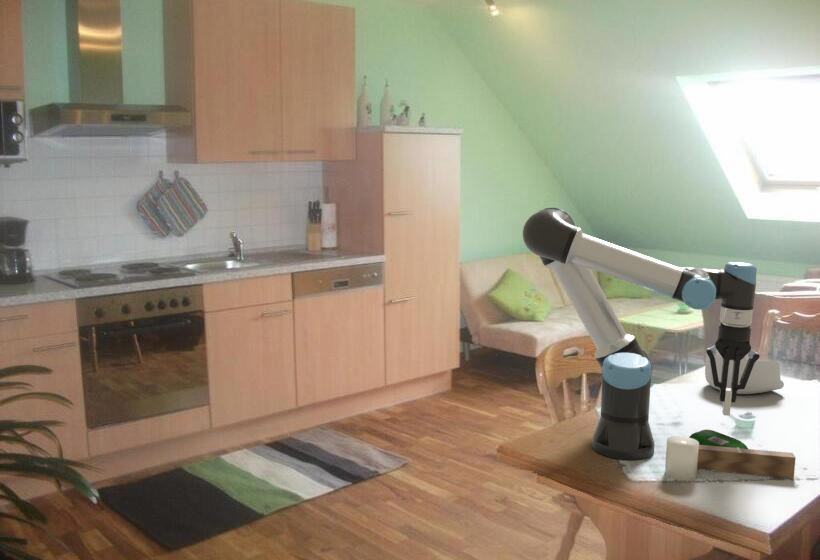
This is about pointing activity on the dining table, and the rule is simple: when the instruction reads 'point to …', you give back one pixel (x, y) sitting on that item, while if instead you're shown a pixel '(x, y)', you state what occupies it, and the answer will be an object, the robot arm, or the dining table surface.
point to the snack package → (716, 439)
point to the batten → (746, 461)
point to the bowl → (760, 378)
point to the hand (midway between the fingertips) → (725, 413)
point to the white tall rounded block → (681, 457)
